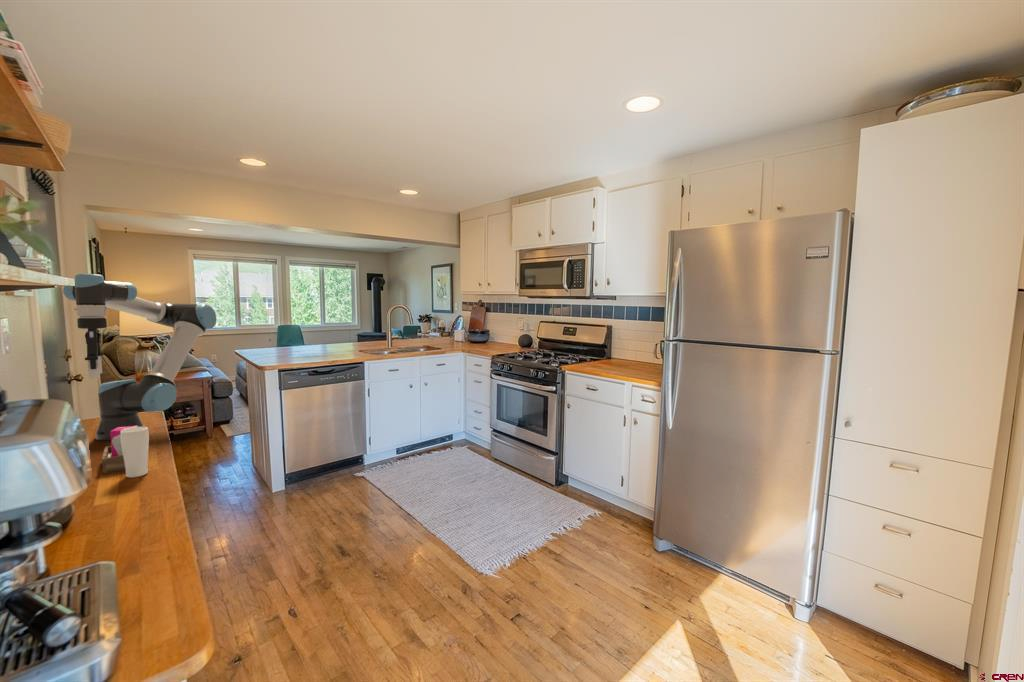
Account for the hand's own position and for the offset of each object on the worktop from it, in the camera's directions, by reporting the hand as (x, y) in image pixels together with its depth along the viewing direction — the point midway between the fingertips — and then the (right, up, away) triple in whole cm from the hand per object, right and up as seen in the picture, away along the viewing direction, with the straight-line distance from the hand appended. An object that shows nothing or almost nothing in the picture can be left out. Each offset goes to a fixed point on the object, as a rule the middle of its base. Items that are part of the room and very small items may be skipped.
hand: (95, 375), depth 155 cm
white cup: (+31, -31, -18) cm, 47 cm away
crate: (+18, -30, -8) cm, 36 cm away
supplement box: (+18, -29, -8) cm, 35 cm away
